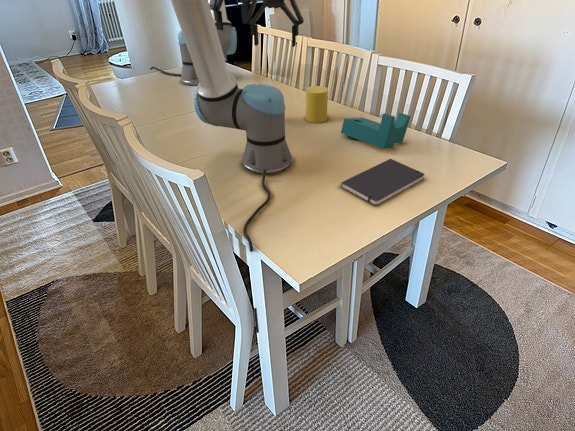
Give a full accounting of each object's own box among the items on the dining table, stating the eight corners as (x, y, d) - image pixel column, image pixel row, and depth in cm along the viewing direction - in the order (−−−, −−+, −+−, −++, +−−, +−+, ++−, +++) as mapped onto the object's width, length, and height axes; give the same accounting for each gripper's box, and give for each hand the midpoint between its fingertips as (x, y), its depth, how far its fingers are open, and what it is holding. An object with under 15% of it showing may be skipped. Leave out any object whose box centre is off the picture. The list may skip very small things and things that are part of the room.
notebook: (389, 163, 124) (340, 187, 113) (390, 158, 123) (341, 182, 112) (424, 178, 116) (375, 206, 105) (425, 174, 115) (376, 201, 104)
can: (310, 113, 159) (310, 85, 152) (329, 116, 156) (330, 87, 149) (303, 121, 153) (303, 91, 146) (323, 123, 150) (324, 94, 144)
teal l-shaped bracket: (401, 146, 136) (410, 115, 131) (383, 149, 129) (392, 116, 124) (359, 131, 147) (366, 102, 142) (340, 132, 139) (347, 102, 135)
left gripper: (208, -35, 134) (215, 34, 147) (258, -41, 150) (261, 22, 162) (193, -36, 138) (202, 31, 151) (244, -42, 153) (248, 19, 166)
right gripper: (312, -26, 131) (311, 43, 143) (239, -26, 136) (244, 42, 148) (308, -24, 125) (308, 48, 137) (232, -23, 130) (238, 46, 142)
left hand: (233, 26), depth 156 cm, fingers open, 13 cm apart
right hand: (275, 45), depth 143 cm, fingers open, 13 cm apart
